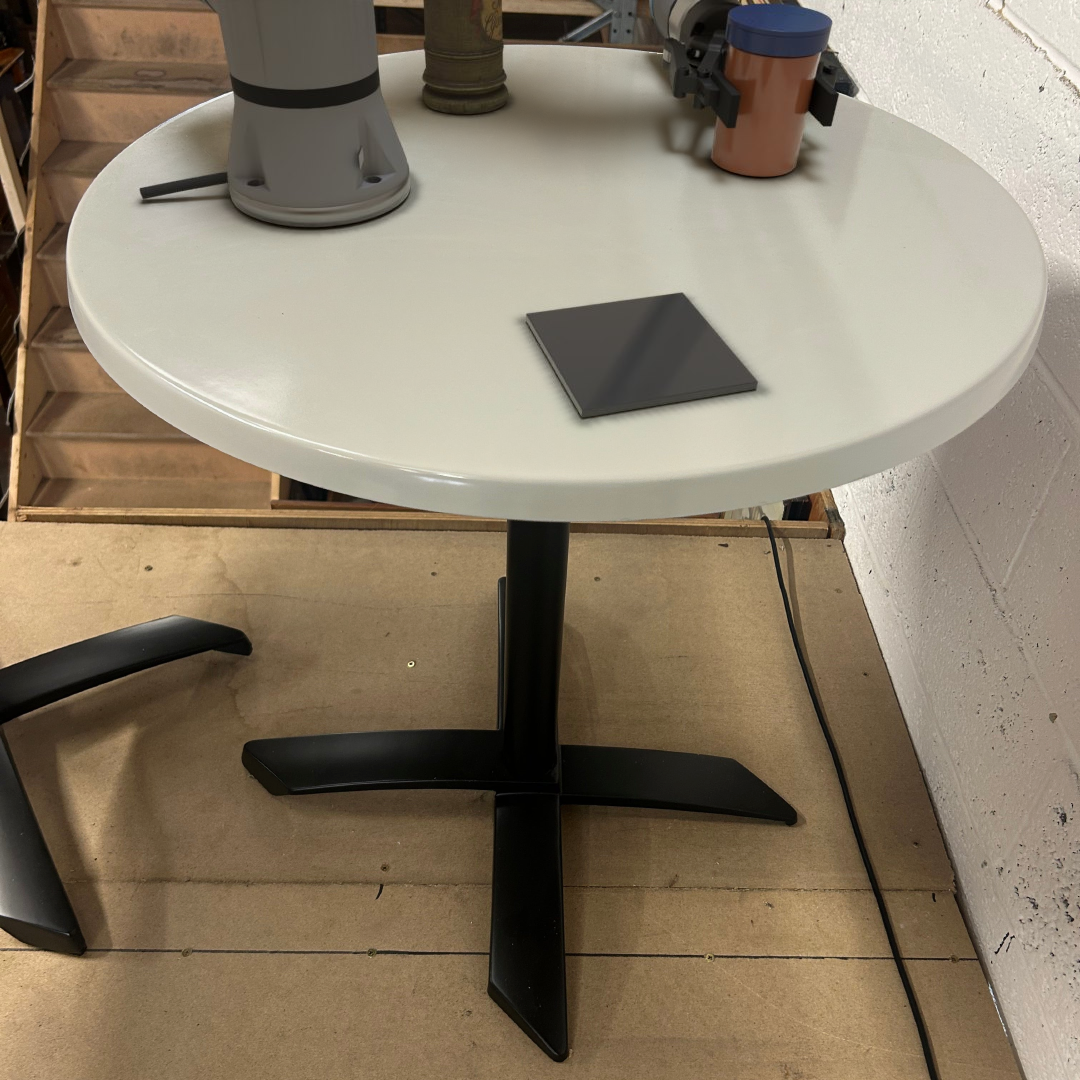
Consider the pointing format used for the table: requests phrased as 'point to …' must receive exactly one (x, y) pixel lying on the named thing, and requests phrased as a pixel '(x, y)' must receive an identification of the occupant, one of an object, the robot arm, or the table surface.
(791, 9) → the lid
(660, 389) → the coaster
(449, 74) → the container
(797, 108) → the jar
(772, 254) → the table surface
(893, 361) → the table surface
